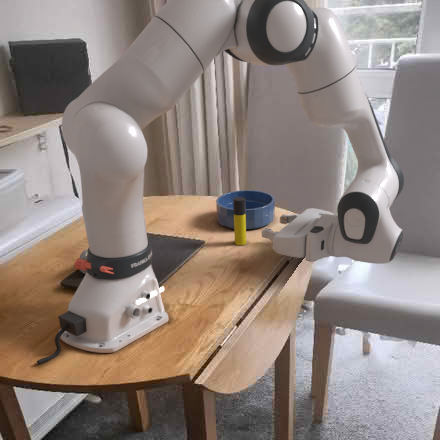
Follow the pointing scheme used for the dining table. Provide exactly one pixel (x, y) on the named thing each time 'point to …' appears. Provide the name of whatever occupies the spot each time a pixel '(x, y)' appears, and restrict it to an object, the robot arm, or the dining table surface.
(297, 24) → the robot arm
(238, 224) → the highlighter
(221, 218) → the bowl
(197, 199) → the dining table surface
